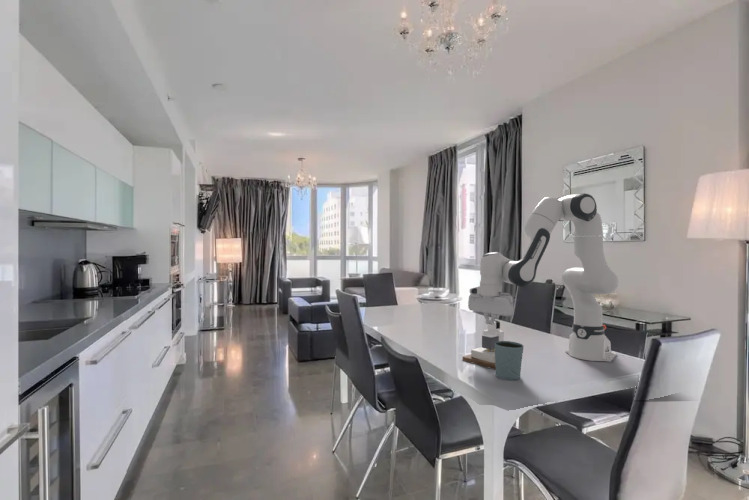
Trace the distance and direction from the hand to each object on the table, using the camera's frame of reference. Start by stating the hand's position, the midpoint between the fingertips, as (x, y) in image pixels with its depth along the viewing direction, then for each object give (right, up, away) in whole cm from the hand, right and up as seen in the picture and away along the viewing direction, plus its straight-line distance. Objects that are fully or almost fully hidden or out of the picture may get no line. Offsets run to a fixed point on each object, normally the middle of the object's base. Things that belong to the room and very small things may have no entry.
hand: (489, 324), depth 165 cm
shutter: (0, -11, 0) cm, 11 cm away
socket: (0, -14, 0) cm, 14 cm away
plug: (0, -11, 0) cm, 11 cm away
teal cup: (+1, -16, -19) cm, 25 cm away
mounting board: (0, -16, 0) cm, 16 cm away
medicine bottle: (+10, -16, +27) cm, 33 cm away
